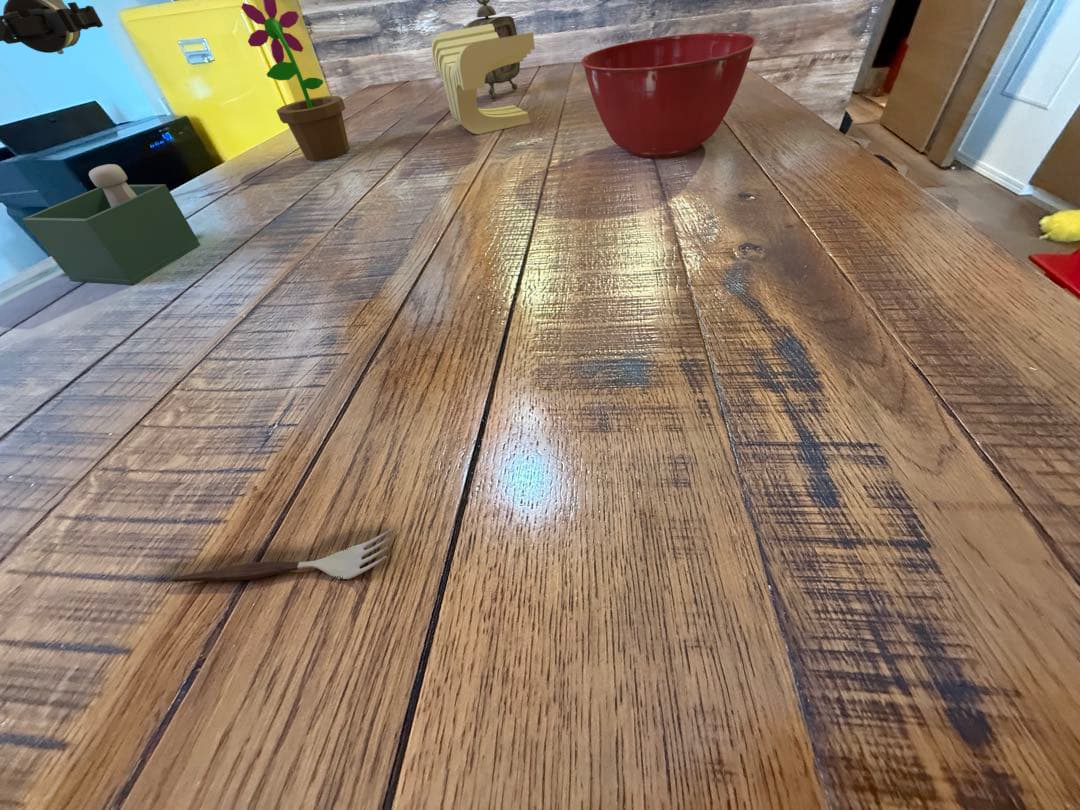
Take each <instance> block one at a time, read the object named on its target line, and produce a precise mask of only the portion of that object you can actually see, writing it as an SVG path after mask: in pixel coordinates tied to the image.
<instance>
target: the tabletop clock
mask: <svg viewBox="0 0 1080 810" xmlns="http://www.w3.org/2000/svg"><path fill="white" fill-rule="evenodd" d="M476 2H477V3H478V4H480V5H481V6H480V7H479V8H478V10H477V12H476V19H474V20H472V21H470V22H468V23H467V24H466V25H465V26H464V27H463V29H465V28H471V27H476V26H482V25H487V24H492V25H493V27H494V29H495V32H497V34H498V36H499V38H504V37H510V36H515V35H518V33H517V28H516V23H515V20H514V17H512V16H510V15H502V16H496V15H497V12H496V10H495V8H494V7H493V6H492V5H488V3H489V2H491V0H476ZM520 65H521V62H517V63H513V64H509V65H506V66H503V67H500V68H497V69H495V70H493V71H491V72H489V73H487V74H486V77H485V84H488V85H489V89H488V91H487V92H488V95H489V96H490V98H491V99H492V100H494V101H495V100H497V98H498V94H497V93H496V92H495V87H494V85H495V84H503V83H506V82H508V83H509V84H510V85H511V89H512V90H513V91H517V89H518V85H517V84H516V83H514V82H513V79H514V78H516V77H517V76H518V75H519V73H520V69H521V66H520Z"/></svg>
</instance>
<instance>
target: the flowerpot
mask: <svg viewBox="0 0 1080 810" xmlns="http://www.w3.org/2000/svg"><path fill="white" fill-rule="evenodd" d="M262 3H263V9H264V11H265V13H266V15H267V16H268V18H267V19H266V16H265V15H264V14H263V11H261V10H260V9H258V8H257V7H256V6H254V5H253V4H250V3H249V4H248V3H245V2H242V5H241V9H242V10H243V12H244V13H245V15H246V16H247V18H249V19H250V20H251V21H253V22H254V23H255V24H257V25H263V26H264V29H256V30H255V31H253V32H252V33H250V35H249V37H248V40H247V43H248V44H249V46H250V47H262V46H263V45H265V44H266V43H268V40H269V38H271V39H272V40H271V43H270V50H271V56H272V58H273V60H274V61H275V63H276V64H273V65H272V66H271V67H270V69H269V70H268V71H267V73H266V76H267V77H268V78H270V79H272V80H273V79H274V80H277V81H289V80H291V79H292V78H293V77H294V76H296V78H297V80H298V83H299V85H300V88H301V91H302V94H303V96H304V99H302V100H297V101H294V102H291V103H288V104H285V105H282V106H281V107H278V108H277V109H276V114H277V115H278V118H279V121H280V122H281V123H282V124H287V126H288V128H289V130H290V131H291V133H292V135H293V137H294V139H295V141H296V143H297V145H298V147H299V149H300V150H301V152H302V154H303V156H304V158H305V159H306V160H307V161H312V162H317V161H325V160H330V159H334V158H338V157H341V156H343V155H344V154H347V153H348V152H349V150H350V144H349V139H348V135H347V131H346V126H345V121H344V117H343V112H344V110H346V109H347V108H346V105H345V103H344V99H343V97H341V96H339V95H326V96H325V95H324V96H320V97H319V96H318V97H312V98H311V97H310V95H309V92H308V90H312V91H313V90H316V89H319V88H321V86H323V84H324V80H323V79H321V78H318V77H307V78H305V79H303V76H302V73H301V71H300V69H299V66H298V64H297V60H296V59H295V57H294V55H293V52H292V51H295V52H300V53H302V52H303V50H304V46H303V45H302V44H301V42H300V40H299V39H298V38H296V37H295V36H294V35H293V34H291V33H289V32H288V33H286V32H284V29H283V28H285V29H289V28H291V27H293V26H294V25H296V24H297V22H298V19H299V14H298V12H297V11H294V10H293V11H292V10H288V11H286V12H284V13H283V14H281V15H280V16H279V20H277V18H276V16H277V13H278V9H277V2H276V0H262ZM284 50H285V51H284ZM285 52H286V54H287V57H288V59H289V61H290V62H288V61H284V59H285V54H284V53H285Z"/></svg>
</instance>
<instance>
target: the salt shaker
mask: <svg viewBox="0 0 1080 810" xmlns="http://www.w3.org/2000/svg"><path fill="white" fill-rule="evenodd" d="M88 176H89V179H90V180H91V182H92V183H93V185H94V186H95V187H96V188H98V187H99V188H103V190H104V193H105V195H106V197H107V199H108V201H109V204H110V206H111V207H114V206H116V205H118V204H120V203H122V202H124V201H127V200H129V199H131V198H133V197H135V196H137V195H136V194H135V193H134V192H133V190H132V189H131V188H130V187H129V186H128V185H129V184H128V183H127V182H126V181H127V180H128V175H127V174H126V173H125V171H124V170H123V168H122V167H121V166H119V165H118V164H113V163H112V164H111V163H108V164H103V165H99V166H96V167H94V168H92V169H91V170H89V171H88Z"/></svg>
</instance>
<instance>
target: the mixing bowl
mask: <svg viewBox="0 0 1080 810" xmlns="http://www.w3.org/2000/svg"><path fill="white" fill-rule="evenodd" d="M756 44H757V39H756V38H755V36H752V35H750V34H745V33H739V32H703V33H702V32H700V33H687V34H677V35H669V36H668V35H667V36H661V37H654V38H647V39H646V38H645V39H641V40H635V41H630V42H625V43H621V44H617V45H616V44H615V45H612V46H609V47H605V48H601V49H598V50H595V51H593V52H590V53H589V54H587V55H585V56H584V57H583V58H582V59H581V62H580V63H581V65H582V67H583V68H584V73H585V76H586V81H587V84H588V87H589V90H590V93H591V94H590V95H591V97H592V99H593V102H594V106H595V108H596V110H597V113H598V115H599V118H600V120H601V121H602V123H603V126H604V128H605V130H606V132H607V134H608V135H609V137H610V138H611V140H612V141H613V142H614V143H615V144H616V146H618V147H619V148H620V149H622V150H624V151H626V152H627V153H628V154H629V155H632V156H635V157H640V158H649V159H659V158H671V157H676V156H681V155H685V154H689V153H691V152H693V151H695V150H696V149H698V148H699V147H700V145H703V144H704V143H706V141H708V140H709V139H710V138H711V137H712V136H713V135H714V134H715V132H717V130H718V129H719V127H720V125H721V124H722V122H723V120H724V118H725V117H726V115H727V113H728V111H729V110H730V107H731V106H732V103H733V101H734V99H735V97H736V94H737V93H738V90H739V87H740V85H741V83H742V80H743V78H744V75H745V72H746V69H747V66H748V63H749V60H750V57H751V53H752V50H753V47H754V46H755V45H756Z"/></svg>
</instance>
